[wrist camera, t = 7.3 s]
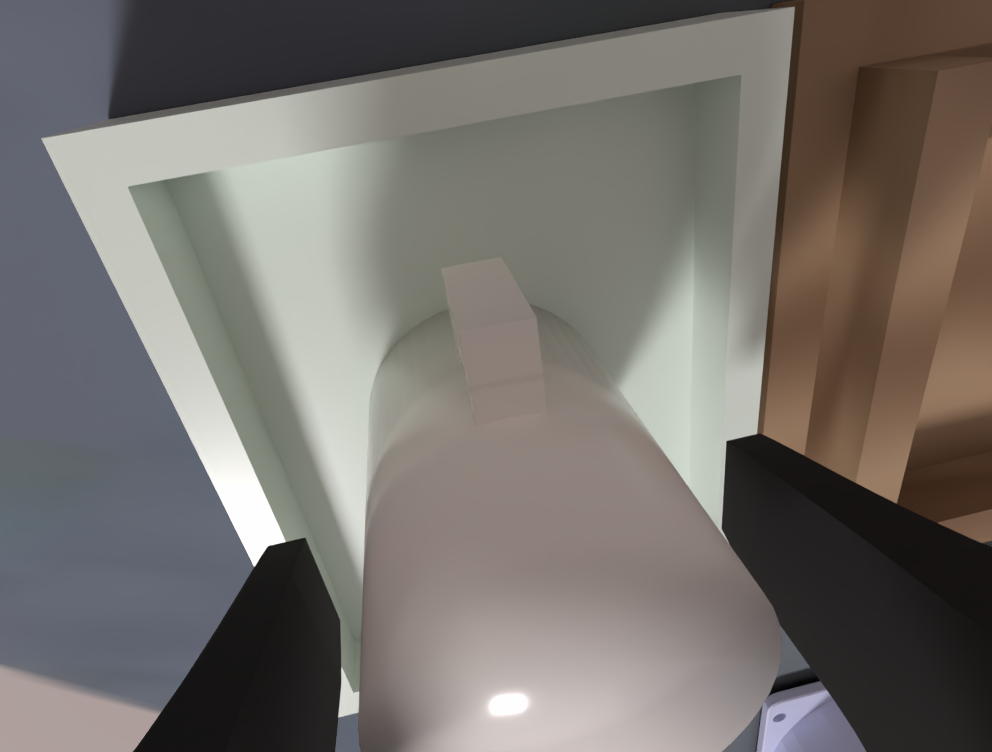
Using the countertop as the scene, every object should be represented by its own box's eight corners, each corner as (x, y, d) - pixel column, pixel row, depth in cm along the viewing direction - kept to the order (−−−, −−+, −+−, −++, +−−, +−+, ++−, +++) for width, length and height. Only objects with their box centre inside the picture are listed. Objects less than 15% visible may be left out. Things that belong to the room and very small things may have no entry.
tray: (700, 552, 18) (740, 615, 16) (335, 641, 17) (330, 719, 15) (720, 12, 11) (794, 6, 9) (106, 119, 10) (41, 138, 8)
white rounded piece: (607, 477, 15) (764, 771, 9) (397, 523, 14) (410, 866, 8) (590, 210, 12) (822, 381, 6) (321, 259, 11) (250, 502, 5)
